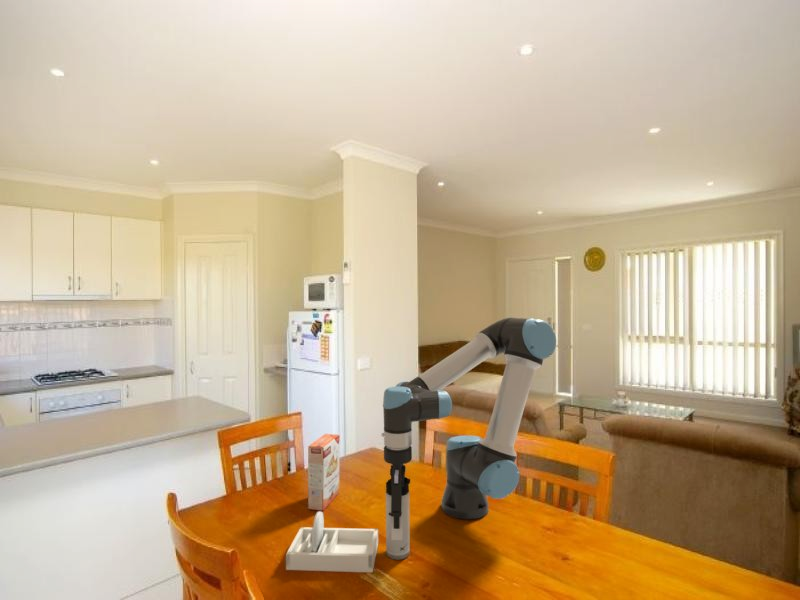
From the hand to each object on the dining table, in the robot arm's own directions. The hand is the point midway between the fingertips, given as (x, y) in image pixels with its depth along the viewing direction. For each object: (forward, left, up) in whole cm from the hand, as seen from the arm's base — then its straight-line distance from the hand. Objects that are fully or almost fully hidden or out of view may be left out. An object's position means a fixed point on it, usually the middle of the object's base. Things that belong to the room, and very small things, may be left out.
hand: (398, 527), depth 117 cm
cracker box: (+27, -29, -7) cm, 40 cm away
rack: (+17, +2, -7) cm, 18 cm away
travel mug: (0, 0, -7) cm, 7 cm away
